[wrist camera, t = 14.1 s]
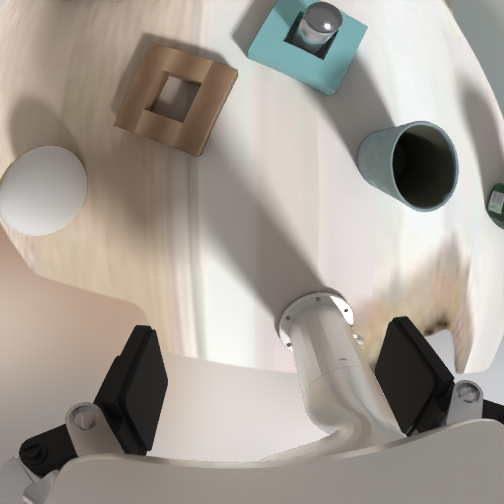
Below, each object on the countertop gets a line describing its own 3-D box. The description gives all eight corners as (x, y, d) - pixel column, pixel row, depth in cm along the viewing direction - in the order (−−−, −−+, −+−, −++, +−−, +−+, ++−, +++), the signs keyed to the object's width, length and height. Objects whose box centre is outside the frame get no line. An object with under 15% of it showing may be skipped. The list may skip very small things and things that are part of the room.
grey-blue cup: (390, 205, 39) (435, 227, 28) (337, 169, 38) (374, 180, 26) (419, 150, 36) (470, 157, 25) (369, 111, 34) (414, 102, 23)
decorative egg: (45, 139, 34) (-21, 146, 20) (104, 150, 35) (42, 158, 21) (36, 211, 38) (-23, 240, 24) (91, 229, 39) (36, 268, 25)
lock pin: (324, 39, 31) (347, 13, 21) (313, 60, 32) (335, 36, 23) (298, 27, 30) (314, -4, 21) (287, 47, 31) (300, 19, 22)
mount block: (238, 76, 33) (237, 69, 29) (200, 155, 36) (196, 156, 33) (159, 50, 31) (152, 43, 27) (124, 126, 34) (113, 125, 31)
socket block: (358, 34, 30) (367, 26, 27) (328, 96, 34) (336, 91, 31) (283, -3, 28) (286, -14, 25) (247, 58, 32) (248, 50, 28)
